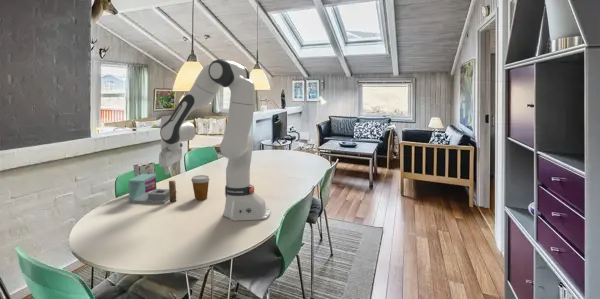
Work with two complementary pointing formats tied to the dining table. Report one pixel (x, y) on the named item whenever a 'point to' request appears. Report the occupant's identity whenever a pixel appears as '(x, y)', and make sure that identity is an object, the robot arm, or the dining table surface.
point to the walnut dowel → (172, 191)
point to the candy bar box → (146, 169)
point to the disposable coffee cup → (200, 186)
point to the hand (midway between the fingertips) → (171, 171)
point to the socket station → (139, 194)
